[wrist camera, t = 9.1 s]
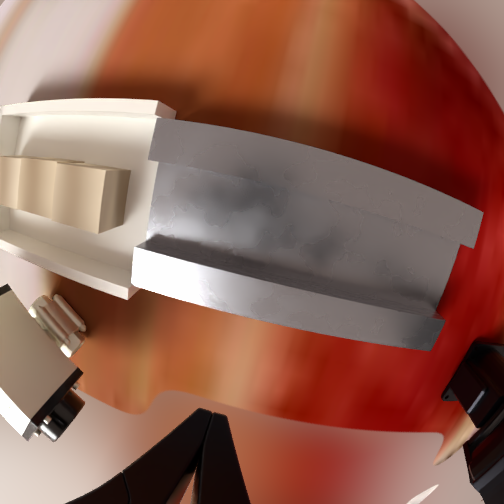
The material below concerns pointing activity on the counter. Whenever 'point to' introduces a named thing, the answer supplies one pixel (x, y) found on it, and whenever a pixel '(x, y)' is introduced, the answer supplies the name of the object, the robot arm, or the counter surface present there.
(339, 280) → the slot rail
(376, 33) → the counter surface
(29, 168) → the block
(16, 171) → the block
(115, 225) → the block
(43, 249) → the tray
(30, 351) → the pneumatic valve
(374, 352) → the counter surface
